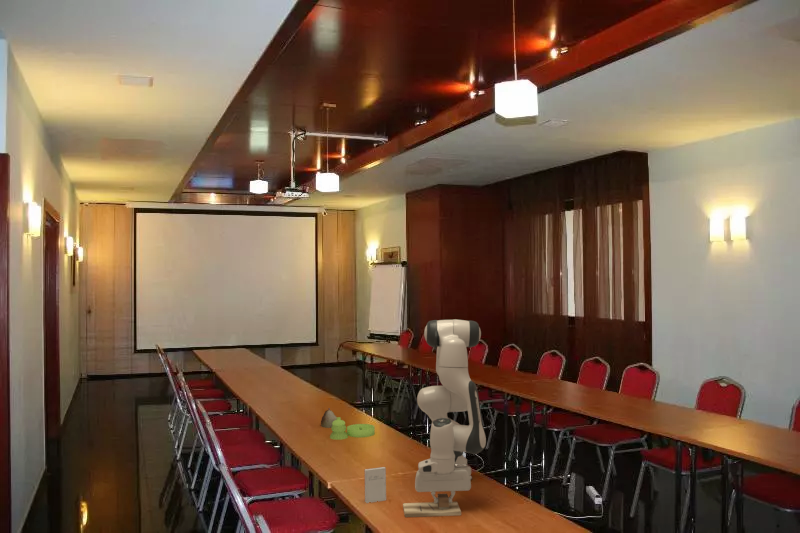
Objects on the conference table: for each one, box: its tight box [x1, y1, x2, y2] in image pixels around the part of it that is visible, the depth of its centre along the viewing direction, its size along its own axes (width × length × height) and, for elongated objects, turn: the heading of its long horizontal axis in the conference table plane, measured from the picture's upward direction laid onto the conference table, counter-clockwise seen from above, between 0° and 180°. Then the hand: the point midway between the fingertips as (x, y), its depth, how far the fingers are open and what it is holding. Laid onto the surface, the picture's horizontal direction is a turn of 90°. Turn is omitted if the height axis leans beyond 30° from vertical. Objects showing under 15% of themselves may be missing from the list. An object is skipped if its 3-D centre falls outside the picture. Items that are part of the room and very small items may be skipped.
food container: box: [329, 416, 376, 441], centre depth 348 cm, size 25×14×13 cm, turn 122°
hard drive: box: [364, 466, 387, 504], centre depth 250 cm, size 2×8×12 cm, turn 112°
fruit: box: [320, 408, 337, 429], centre depth 369 cm, size 10×9×12 cm
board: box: [402, 501, 462, 518], centre depth 239 cm, size 11×20×1 cm, turn 93°
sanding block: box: [437, 493, 450, 510], centre depth 239 cm, size 5×4×4 cm
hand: (443, 503), depth 239 cm, fingers closed on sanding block, 3 cm apart
